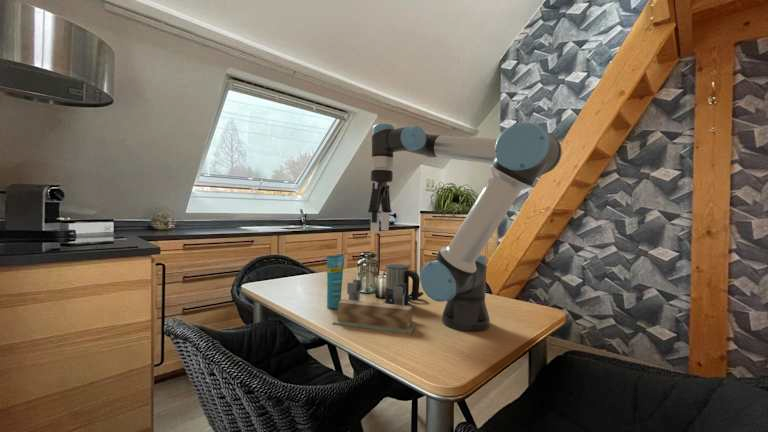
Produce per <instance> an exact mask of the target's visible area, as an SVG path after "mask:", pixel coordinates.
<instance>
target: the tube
mask: <svg viewBox="0 0 768 432" xmlns="http://www.w3.org/2000/svg"><path fill="white" fill-rule="evenodd" d="M345 257H346V256H345V254H335V255H326V278H327V280H326V281H327V283H326V285H327V290H326V293H327V294H326V295H327V296H326V297H327V298H326V307H327V308H328V309H338V302H339V301H341V300H342V291H343V277H344V276H343V275H344V274H343V273H344V262H345Z"/></svg>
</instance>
